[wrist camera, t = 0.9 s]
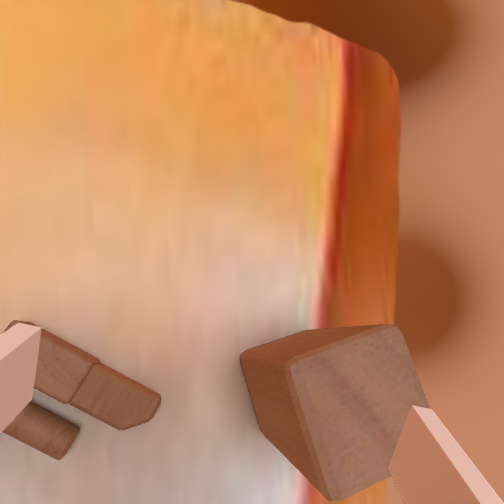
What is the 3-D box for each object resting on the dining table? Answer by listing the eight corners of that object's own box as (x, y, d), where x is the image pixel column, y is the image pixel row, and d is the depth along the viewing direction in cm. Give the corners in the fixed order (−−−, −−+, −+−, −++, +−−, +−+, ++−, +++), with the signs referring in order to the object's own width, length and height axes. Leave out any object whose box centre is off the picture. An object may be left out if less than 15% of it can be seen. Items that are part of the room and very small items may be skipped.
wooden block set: (-1, 313, 36) (163, 400, 37) (21, 317, 42) (163, 393, 43) (-136, 493, 31) (59, 587, 32) (-91, 471, 36) (75, 552, 38)
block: (310, 328, 48) (402, 319, 29) (336, 406, 46) (452, 453, 27) (236, 353, 45) (284, 362, 26) (261, 437, 43) (331, 513, 24)
